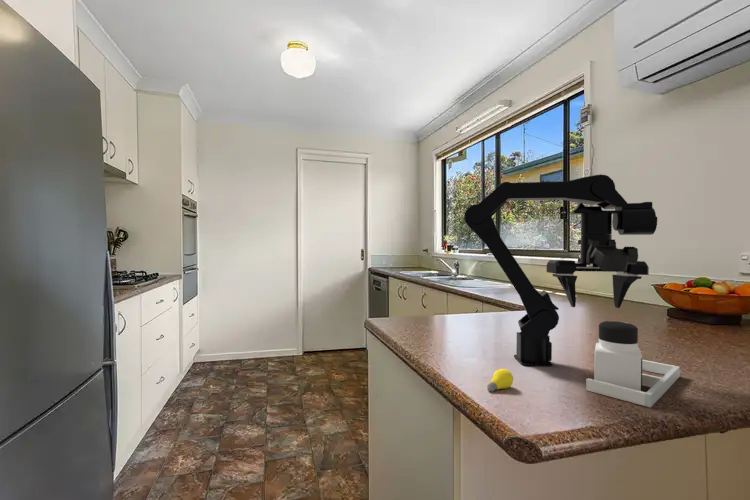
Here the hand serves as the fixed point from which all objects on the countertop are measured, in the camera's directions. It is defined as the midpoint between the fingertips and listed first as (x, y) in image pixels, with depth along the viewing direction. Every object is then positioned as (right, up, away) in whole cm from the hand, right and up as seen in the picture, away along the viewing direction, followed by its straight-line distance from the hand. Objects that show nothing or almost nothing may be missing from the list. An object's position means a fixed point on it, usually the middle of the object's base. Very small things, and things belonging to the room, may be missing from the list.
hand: (595, 307), depth 80 cm
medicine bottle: (-3, -13, -11) cm, 18 cm away
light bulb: (-25, -13, -12) cm, 31 cm away
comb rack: (+2, -13, -9) cm, 16 cm away
